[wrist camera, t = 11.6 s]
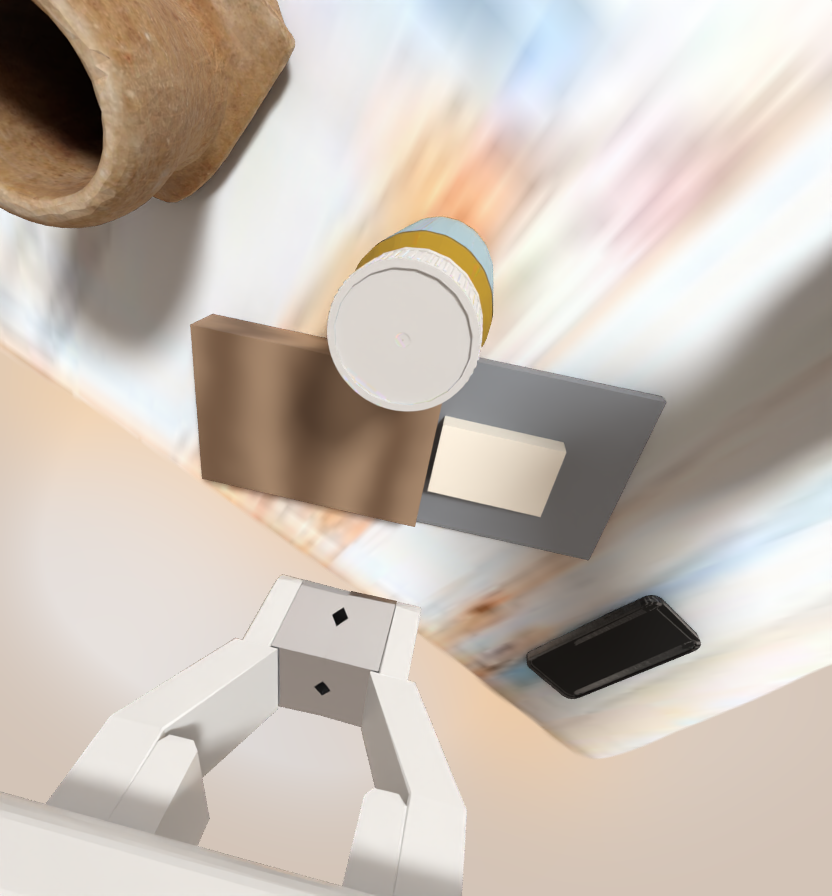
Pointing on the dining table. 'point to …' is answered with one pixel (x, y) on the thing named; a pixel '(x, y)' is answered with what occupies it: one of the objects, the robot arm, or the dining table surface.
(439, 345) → the bottle
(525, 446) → the tile
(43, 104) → the stone cup
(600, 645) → the phone
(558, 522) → the mat
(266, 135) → the dining table surface
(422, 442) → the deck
